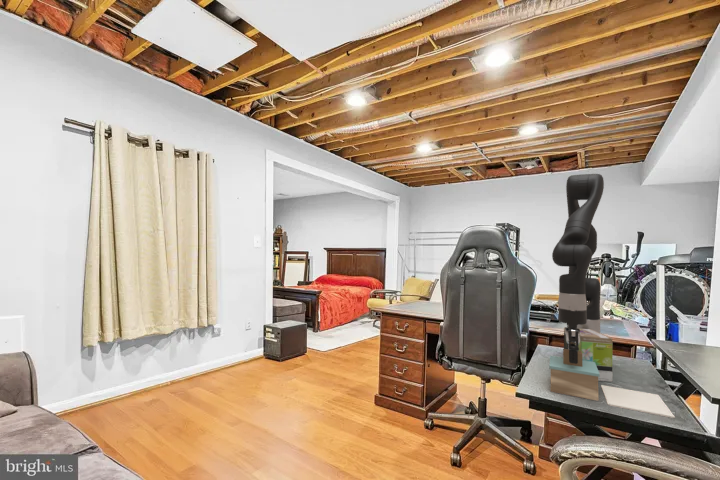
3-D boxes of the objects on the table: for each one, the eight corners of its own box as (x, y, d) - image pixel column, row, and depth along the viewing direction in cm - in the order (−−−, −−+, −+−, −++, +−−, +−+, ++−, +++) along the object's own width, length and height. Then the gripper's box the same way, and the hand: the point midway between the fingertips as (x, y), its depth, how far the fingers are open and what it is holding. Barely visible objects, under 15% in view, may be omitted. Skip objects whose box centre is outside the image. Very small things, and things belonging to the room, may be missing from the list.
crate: (551, 379, 112) (550, 358, 113) (594, 386, 106) (593, 364, 107) (550, 391, 102) (550, 368, 102) (598, 400, 96) (598, 376, 96)
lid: (549, 360, 113) (549, 343, 113) (595, 367, 107) (594, 349, 107) (549, 371, 102) (549, 352, 102) (599, 380, 96) (599, 359, 96)
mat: (601, 386, 107) (601, 384, 107) (658, 396, 100) (658, 394, 100) (608, 405, 93) (607, 403, 93) (674, 418, 86) (674, 416, 86)
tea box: (614, 382, 111) (613, 337, 111) (580, 379, 113) (580, 335, 113) (592, 367, 125) (591, 328, 126) (562, 365, 127) (562, 326, 128)
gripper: (558, 303, 113) (558, 352, 113) (558, 309, 101) (559, 363, 100) (584, 305, 109) (585, 355, 109) (588, 311, 97) (589, 368, 96)
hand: (572, 359), depth 105 cm, fingers open, 8 cm apart
